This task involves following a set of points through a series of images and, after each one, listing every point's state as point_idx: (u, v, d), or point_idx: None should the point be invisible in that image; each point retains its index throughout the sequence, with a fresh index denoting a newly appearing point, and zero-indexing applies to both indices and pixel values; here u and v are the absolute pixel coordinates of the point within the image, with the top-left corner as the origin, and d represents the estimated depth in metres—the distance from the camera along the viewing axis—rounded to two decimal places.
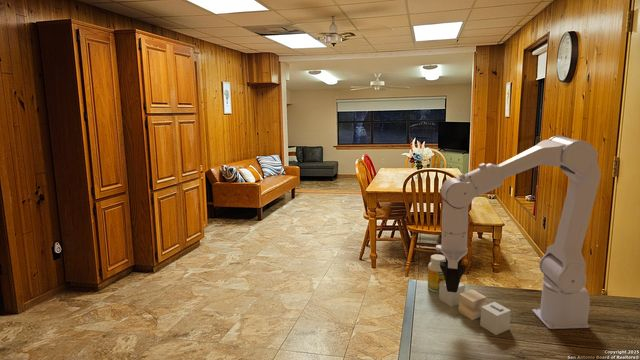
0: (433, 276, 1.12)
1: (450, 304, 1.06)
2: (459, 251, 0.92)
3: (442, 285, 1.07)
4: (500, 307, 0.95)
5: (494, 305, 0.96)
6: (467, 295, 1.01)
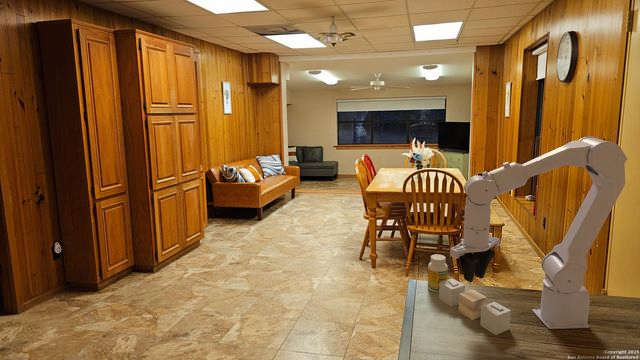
0: (433, 276, 1.12)
1: (450, 304, 1.06)
2: (472, 245, 0.96)
3: (442, 285, 1.07)
4: (500, 307, 0.95)
5: (494, 305, 0.96)
6: (467, 295, 1.01)
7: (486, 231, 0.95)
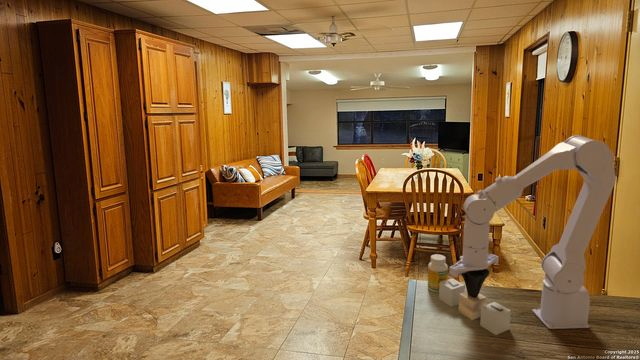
0: (433, 276, 1.12)
1: (450, 304, 1.06)
2: (471, 264, 0.97)
3: (442, 285, 1.07)
4: (500, 307, 0.95)
5: (494, 305, 0.96)
6: (467, 295, 1.01)
7: (485, 250, 0.96)
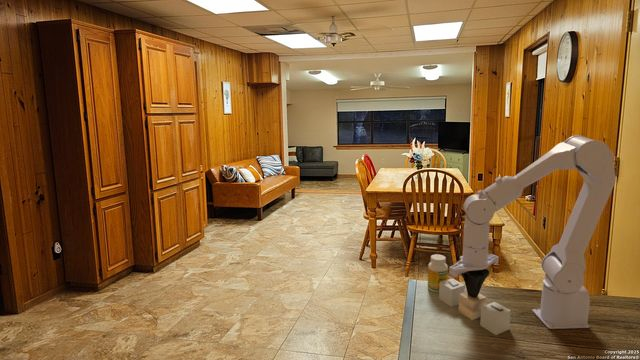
0: (433, 276, 1.12)
1: (450, 304, 1.06)
2: (470, 264, 0.97)
3: (442, 285, 1.07)
4: (500, 307, 0.95)
5: (494, 305, 0.96)
6: (467, 295, 1.01)
7: (485, 250, 0.96)
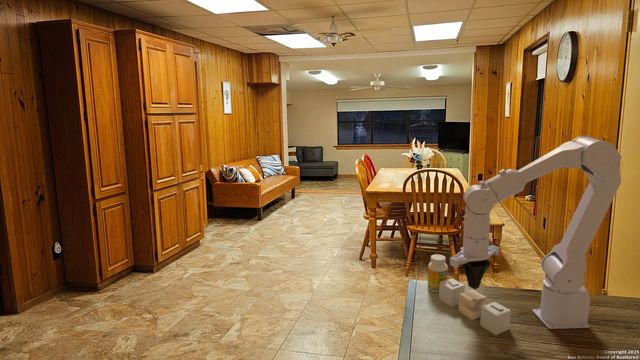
0: (433, 276, 1.12)
1: (450, 304, 1.06)
2: (471, 254, 0.96)
3: (442, 285, 1.07)
4: (500, 307, 0.95)
5: (494, 305, 0.96)
6: (467, 295, 1.01)
7: (485, 240, 0.95)
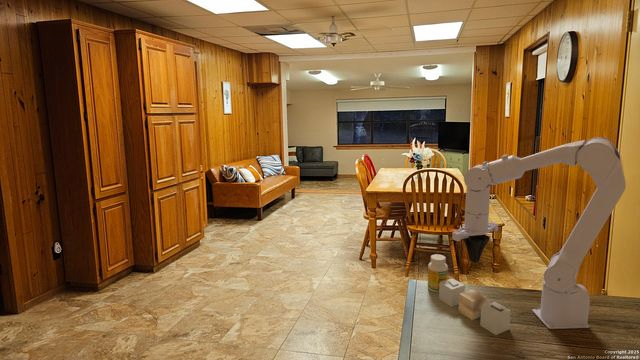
0: (433, 276, 1.12)
1: (450, 304, 1.06)
2: (472, 229, 1.03)
3: (442, 285, 1.07)
4: (500, 307, 0.95)
5: (494, 305, 0.96)
6: (467, 295, 1.01)
7: (485, 216, 1.02)
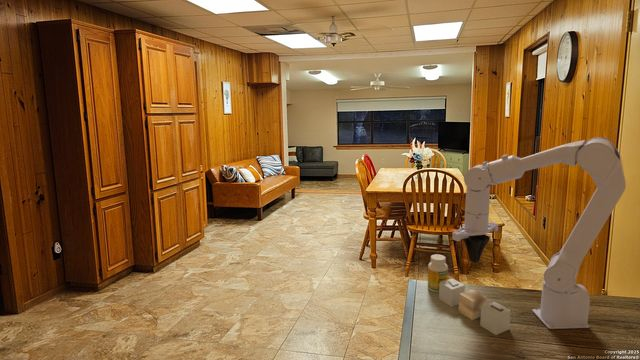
0: (433, 276, 1.12)
1: (450, 304, 1.06)
2: (472, 229, 1.03)
3: (442, 285, 1.07)
4: (500, 307, 0.95)
5: (494, 305, 0.96)
6: (467, 295, 1.01)
7: (485, 216, 1.02)
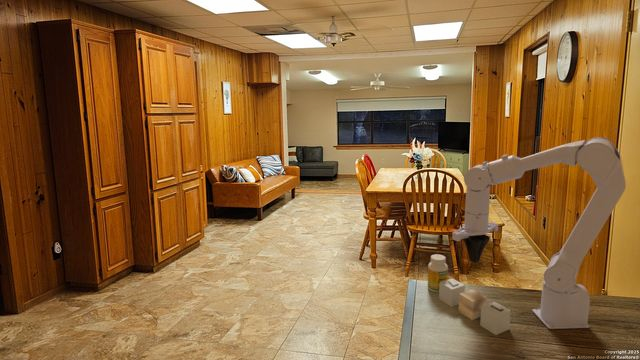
0: (433, 276, 1.12)
1: (450, 304, 1.06)
2: (472, 229, 1.03)
3: (442, 285, 1.07)
4: (500, 307, 0.95)
5: (494, 305, 0.96)
6: (467, 295, 1.01)
7: (485, 216, 1.02)
